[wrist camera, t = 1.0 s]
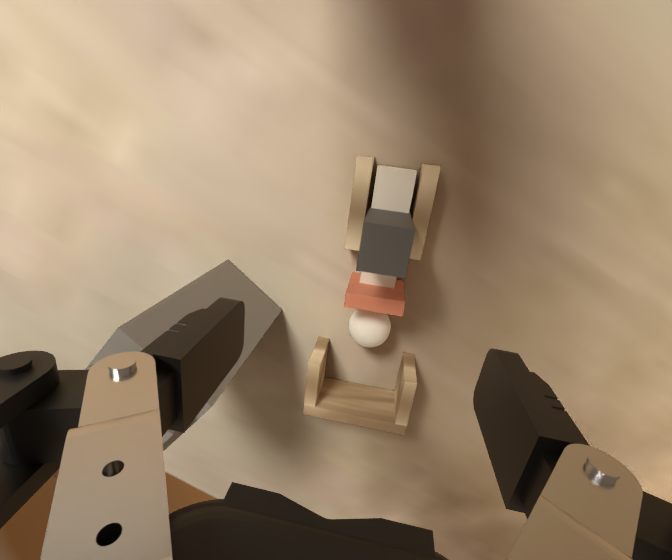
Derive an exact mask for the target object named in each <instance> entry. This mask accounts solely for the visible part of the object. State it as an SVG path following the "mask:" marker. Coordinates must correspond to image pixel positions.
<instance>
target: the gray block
mask: <svg viewBox="0 0 672 560" xmlns="http://www.w3.org/2000/svg"><path fill="white" fill-rule="evenodd" d="M416 175H417V171H416V170H412V169H405V168H397V167H390V166H382V165H378V167H377V173H376V180H375V186H374V193H373V199H372V205H371V208H369V211H368V213H367V215H366V217H365V220H364V222H363V228H362V235H361V242H360V248H359V255H358V262H357V269H356V271H361V274H358V273H352V276H351V279H350V282H349V285H348V288H347V290H346V295H345V302H344V307H349V308H355V309H361V310H366V311H372V312H378V313H383V314H389V315H395V316H401V317H402V316H403V311H404V306H405V292H404V281H401V280H396V277H399V278H406V274H407V269H408V264H409V259H410V254H411V249H412V244H413V239H414V235H415V227H414V223H413V220H412V217H411V214H409V210H410V205H411V200H412V195H413V190H414V185H415V180H416Z"/></svg>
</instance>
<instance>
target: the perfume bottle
mask: <svg viewBox="0 0 672 560" xmlns="http://www.w3.org/2000/svg"><path fill="white" fill-rule="evenodd" d="M220 297H223V298H228V299H234V300H239V301H243V302H244V305H245V323H244V345H243V350H242V353H241V355H240V358H239V359H238V361H237V362H236V364H235V365H234V366H233V368H232V369H231V370H230V372H229V373H228V374H227V376H226V377H225V378H224V380H223V381H222V383H221V384H220V385H219V387H218V388H217V389H216V391H215V392H214V393H213V395H212V396H211V397H210V399H209V400H208V401H207V403H206V404H205V405H204V407H203V408H202V409H201V411H200V412H199V414H198V415H197V416H196V418H195V419H194V420H193V422H192V423H191V424H190V426H191V425H192V424H194V423H195V422H196V421H197V420H198V419H199V418H200V417H201V416H202V415H203V414H204V413H206V412H207V411H208V410H209V409H210V408H211V407H212V406H213V404H214V403H215V402H216V400H217V399H218V397H219V396H220V395H221V393H222V392H223V391H224V389H225V388H226V386H227V385H228V384H229V382H230V381H231V379H232V378H233V377H234V375H235V374H236V373H237V371H238V370H239V368H240V367H241V366H242V364H243V363H244V362H245V360H246V359H247V357H248V356H249V355H250V353H251V352H252V351H253V349H254V348H255V346H256V345H257V344H258V342H259V341H260V339H261V338H262V337H263V335H264V334H265V333H266V331H267V330H268V328H269V327H270V326H271V324H272V323H273V322H274V320H275V319H276V317H277V316H278V315H279V313H280V312H281V310H282V309H281V308H280V307H279V306H278V305H277V304H276V303H275V302H274V301H273V300H272V299H271V298H269V297H268V296H267V295H266V294H265V293H264V292H263V291H262V290H261V289H260V288H259V287H258V286H257V285H255V284H254V283H253V282H252V281H251V280H250V279H249V278H248V277H247V276H246V275H245V274H244V273H243V272H241V271H240V270H239V269H238V268H237V267H236V266H235V265H234V264H233V263H232V262H231V261H230V260H226V261H225V262H223V263H222V264H220V265H218V266H217V267H215V268H214V269H212V270H210V271H209V272H207V273H205V274H204V275H202V276H201V277H199V278H197V279H196V280H194V281H193V282H191V283H189V284H188V285H186V286H184V287H183V288H181V289H180V290H178V291H176V292H175V293H173V294H172V295H170V296H168V297H167V298H165V299H164V300H162V301H160V302H159V303H157V304H155V305H154V306H152V307H151V308H149V309H147V310H146V311H144V312H143V313H141V314H139V315H138V316H136V317H134V318H133V319H131V320H130V321H128V322H126V323H125V324H123V325H122V326H120V327H118V328H117V330H116V331H115V332H114V333H113V335H112V336H111V337H110V339H109V340H108V341H107V342H106V344H105V345H104V346H103V348H102V349H101V350H100V351H99V353H98V354H97V355H96V356H95V358H94V359H93V360H92V362H91V363H90V364H89V365H88V367H87V368H86V369H85V370H90V368H91V367H92V366H93V365H94V364H95V363H96V362H98V361H99V360H101V359H103V358H105V357H107V356H110V355H113V354H117V353H121V352H129V351H137V352H140V351H142V350H143V349H144V348H145V347H147V346H148V345H149V344H150V343H152V342H153V341H154V340H155V339H157V338H158V337H159V336H160V335H162V334H163V333H164V332H166V331H169V328H171V327H172V326H173V325H174V324H177V323H178V321H179V320H181V319H182V318H183V317H185V316H186V315H187V314H189V313H192V312H194V311H197V310H199V309H202V308H203V309H207V308H208V307H209V306H210V305H211V304H213V303H214V302H215V301H216V300H217V299H219V298H220ZM190 426H189V427H190ZM189 427H188V428H189ZM188 428H187V429H188ZM182 434H183V433H182V432H178V431H173V430H169V429H168V430H167V432H166V433H165V434H164V435H163V437H162V444H163V451H164V450H165V449H166V448H167V447H168V446H170V445H171V444H172V443H173V442H174V441H175V440H176V439H177V438H178V437H179V436H180V435H182ZM59 469H60V468H59ZM59 469H58V470H57V471H56V472H55V473H54V474H53V476H55V477H56V478H58V474H59Z"/></svg>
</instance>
